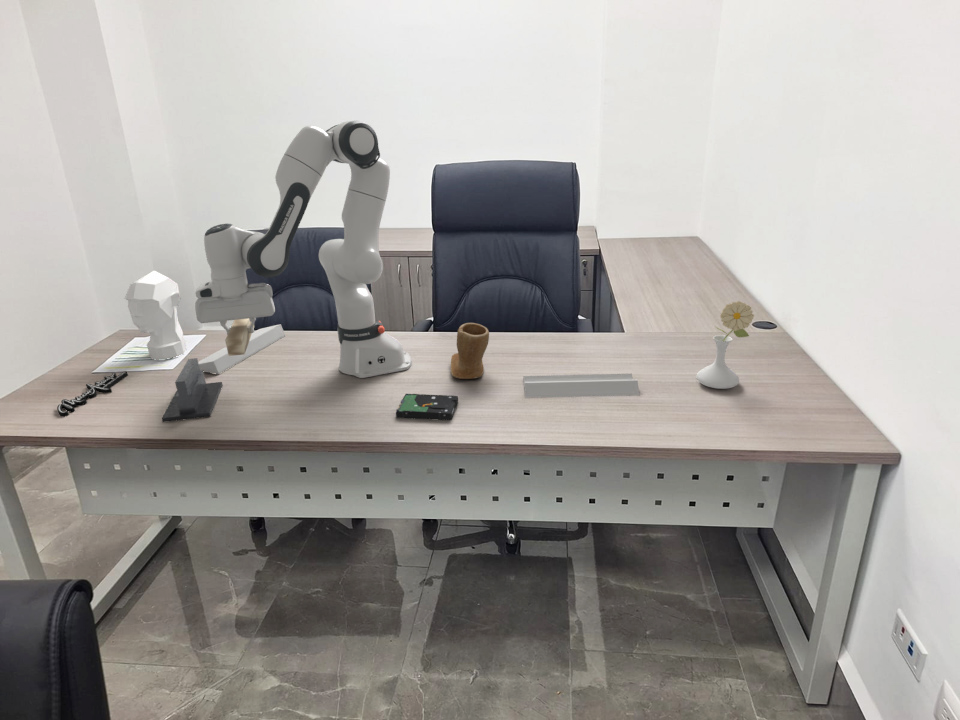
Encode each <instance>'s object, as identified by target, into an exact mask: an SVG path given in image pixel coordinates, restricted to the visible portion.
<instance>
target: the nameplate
mask: <svg viewBox="0 0 960 720" xmlns="http://www.w3.org/2000/svg"><path fill="white" fill-rule="evenodd" d="M127 376H129V374H128V371H127V370H125V371H123V372H120V373H119V374H118V375H117V374H116V372H112V373H111V374H110V375H105V376H103V379H102V380H100V381H95V382H94V384H91V383H86V384H85V386H86V389H87V391H85V392H81V394H80V395H78V396H75V398H72V399H71V398H70V399H67V398H65V399H64V398H63V399H62V400H60V402H61V403H60V404H58V405H57V407H56V410H57V414H58V413H59V414H58V415H59V416H60V417H63V418H64V417H65V416H66V417H68V416H69V415H70V413H74V411H75V412H76V410H75V409H76V408H77V407H80V406H84V405H87V404H88V401H87V400H91V399H94V398H96V397H97V395H98V393H102V394H111V393H113V391H112V387H115V385H116V384H118V383H120V382H121V381H123V380H124V379H125V378H127ZM66 410H67V411H66ZM68 411H69V412H68ZM66 417H65V418H66Z"/></svg>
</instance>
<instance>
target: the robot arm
mask: <svg viewBox="0 0 960 720" xmlns="http://www.w3.org/2000/svg"><path fill="white" fill-rule="evenodd" d="M380 157H381V153H380V148H379V139H378V136H377V133H376V131H375V130H374V128H373V127H372V126H371V125H370V124H368V123H366V122H364V121H360V120H349V121H348V120H347V121H344V122H341V123H339V124H337V125H334V126H332V127H330V128H328V129H327V130H324V129H323V128H320V127H319V126H316V125H305V126H303V127H302V128H301V129H300V130H299V132H297V134H296V136H295V137H294V138H293V139H292V141H291V142H290V143H289V145H288V147H287V148H286V150H285V153H283V155H282V158H281V159H280V161H279V163H278V166H277V170H276V173H275V177H274V179H275V183H276V186H277V188H278V191H279V196H280V197H279V199H280V201H279V205H278V209H277V211H276V212H275V215H274V217H273V219H272V221H271V223H270V225H269V227H268V230H267V232H266V233H263V232H259V231H253V230H246V229H243V228H240V227H238V226H236V225H233V224H232V223H222V224H217V225H214V226H212V227H210V228H209V229H207V230H206V231H205V233H204V235H203V241H204V243H203V245H204V250H205V257H206V261H207V265H209V268H210V278H211V280H209V281H207V282H204V283H202V284H200V285H199V286H198V287H197V288H196V290H195V297H196V298H197V299H196V301H195V306H194V307H195V308H194V309H195V310H194V311H195V315H196V320H197V322H199V324H209V323H210V324H211V323H217V322H220V323H219V324H220V326H221V327H222V328H223V329H224V330H225V331H226V336H227V335H228V333H229V331H230V329H231V327H230V326H229V325H228V324H227V323H228V322H229V321H234V320H238V319H248V318H249V320H250V322H252V323H251V326H247V330H248V333H254V332H255V329H254V328H255V327H254V328H253V325H254V326H255V322H256V321H257V318H265V317H271V316H273V315H274V314H275V312H276V308H275V303H274V300H273V294H274V292H273V291H274V290H273V288H272V286H271V285H269V284H268V283H266V282H259V283H248V282H249V281H248V278H247V272H246V271H247V270H248V269H251V270H252V271H253V272H254V273H255V274H257V276H260V277H263V278H274V277H277V276H279V275H281V274H282V273H283V272H284V271H285V270H286V268H287V267H288V264H289V260H290V250H291V249H290V248H291V245H292V241H293V239H294V237H295V235H296V234H297V231H298V229H299V226H300V223H301V221H302V220H303V217H304V215H305V212H306V210H307V207H308V205H309V203H310V200H311V197H312V196H313V194H314V192H315V190H316V188H317V186H318V185H319V183H320V181H321V180H322V177H323V175H324V173H325V171H326V169H327V167H328V166H329V165H330V164H331V162H336V163H338V164H339V163H340V164H348V166H349V169H350V172H351V173H350V175H351V176H350V181H349V185H348V189H347V192H346V196H345V200H344V204H343V209H342V211H341V220H342V223H343V229H344V230H343V231H344V233H343V238H334V239H329V240H326V241H324V243H323V244H321V246H320V248H319V251H318V260H319V262H320V265H321V266H322V268H323V269H324V271H325V274H326V277H327V280H328V282H329V285H330V288H331V289H330V290H331V292H332V295H333V299H334V301H335V302H334V303H335V307H336V309H335V310H336V316H337V322H338V323H337V338H338V342H339V343H340V353H339V354H340V355H339V356H340V357H339V363H338V371H340V372H341V373H342V374H344V375H345V374H346V375H348V376H349V375H351V376H355V377H357V378H359V379H364V378H370V377H375V376H382V375H386V374H392V373H397V372H401V371H407V370H408V369H410V368H411V366H412V357H411V356H410V355H411V354H409V353H408V352H407V351H404V350H403V345H402V343H401V342H400V341H399V340H398V339H397V338H395V337H393V336H392V335H390V334H388V333H387V332H385V331H386V330H385V327H384V325H383V323H382V322H381V320H377V319H376V316H375V315H376V314H375V305H374V298H373V296H372V293H371V292H370V290H369V288H368V285H370V284H373V283H375V282H376V281H377V280H379V278H380V277H381V276H382V273H383V269H384V263H383V259H382V258H381V255H380V249H379V248H380V247H379V246H380V245H379V243H380V242H379V236H380V234H379V233H380V225H381V221H382V218H383V213H384V209H385V205H386V202H387V196H388V192H389V186H390V179H391V169H390V166H389V164H388V163H387V162H386V161H385V160H384V159H383V158H380Z"/></svg>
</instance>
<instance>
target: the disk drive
mask: <svg viewBox="0 0 960 720" xmlns="http://www.w3.org/2000/svg"><path fill="white" fill-rule="evenodd" d="M458 404H459V397H458V395H451V394H449V395H448V394H424V393H423V394H422V393H421V394H419V393H405V395H404V396H403V397H402V399H401V400H400V404H399V405H398V407H397V408H396V412H395V415H396V418H397V419H411V418H413V419H414V418H415V420H432V419H438V420H437V421H452V419H453V417H454V414H455V412H456V410H457V407H458Z"/></svg>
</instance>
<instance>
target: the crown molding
mask: <svg viewBox="0 0 960 720" xmlns="http://www.w3.org/2000/svg"><path fill="white" fill-rule="evenodd" d="M522 377H523V378H522V380H523V381H522V382H523V390H524V397H525V398H526V399H530V398H531V399H532V398H534V399H535V398H537V399H538V398H540V399H542V398H574V397H575V398H580V397H581V398H582V397H583V398H584V397H620V396H621V397H622V396H624V397H625V396H626V397H628V396H629V397H630V396H640V389H639V381H638V379H636V378H635V379H634V378H633V374H632V373H605V374H604V373H602V374H600V373H598V374H597V373H595V374H561V375H560V374H558V375H557V374H556V375H555V374H554V375H553V374H551V375H523V376H522Z"/></svg>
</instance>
